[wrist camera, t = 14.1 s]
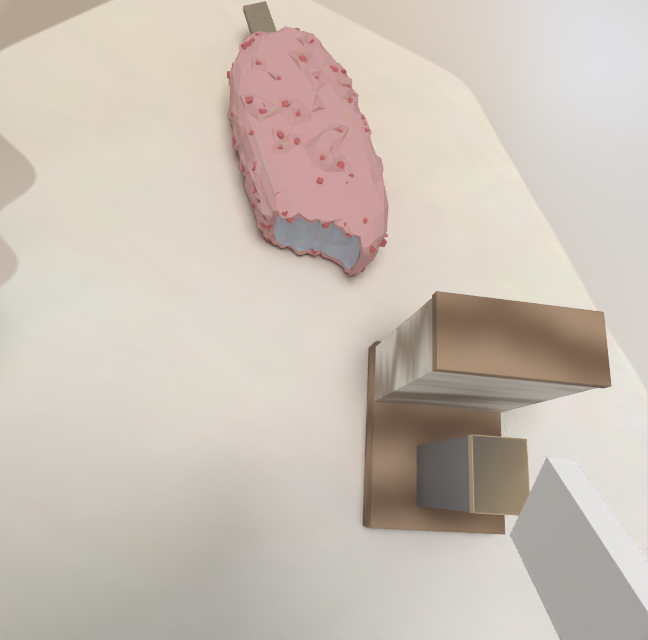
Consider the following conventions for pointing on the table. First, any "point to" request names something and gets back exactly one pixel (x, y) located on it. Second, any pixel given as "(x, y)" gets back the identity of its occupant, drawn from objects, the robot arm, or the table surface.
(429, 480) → the case
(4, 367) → the table surface
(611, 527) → the robot arm
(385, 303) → the table surface
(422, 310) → the stand
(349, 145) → the ice cream bar
